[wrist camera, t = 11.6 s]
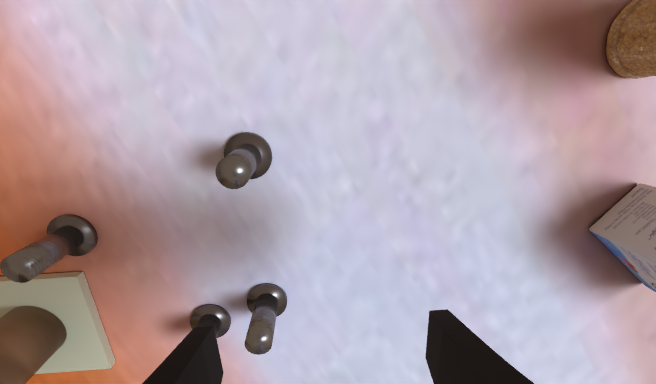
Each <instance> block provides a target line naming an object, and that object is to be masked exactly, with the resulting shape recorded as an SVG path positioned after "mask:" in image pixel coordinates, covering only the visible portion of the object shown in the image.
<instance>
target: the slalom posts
mask: <svg viewBox="0 0 656 384" xmlns="http://www.w3.org/2000/svg"><path fill="white" fill-rule="evenodd" d="M271 162H272V152H271V148H270V146H269V144H268V143H267V142H266V141H265V140H264V139H263V138H262V137H261V136H259V135H257V134H254V133H249V132H245V133H240V134H237V135H236V136H234V137H232V138H231V139H230V140H229V141H228V143H227V144H226V147H225V150H224V158H223V159H222V160H221V161H220V162H219V163H218V165H217V167H216V177H217V179H218V181H219V182H220V183H221V184H222V185H223V186H225V187H227V188H230V189H238V188H241V187H243V186H244V185H245V184H246V183H247V182H248V180H249V179H255V178H258V177H260V176H262V175H263V174H265V173H266V172H267V170H268V169H269V167H270V165H271ZM96 243H97V233H96V231H95V229H94V227H93V226H92V225H91V224H90V223H89V222H88V221H87V220H85V219H83V218H81V217H79V216H76V215H62V216H59V217H57V218H55V219H54V220H52V221H51V222H50V223H49V225H48V227H47V235H46V236H44V237H42V238H40V239H39V240H37V241H35V242H33V243H31V244H30V245H28V246H26V247H24V248H22V249H21V250H19V251H17V252H15V253H13V254H12V255H10V256H8V257H6V258H5V259H3V260H2V262H1V264H0V268H1V271H2V273H3V274H4V275H5V276H6V277H7V278H8V279H10V280H12V281H14V282H18V283H26V282H29V281H30V280H32V279H33V278H35V277H36V276H38V275H39V274H41V273H42V272H43V271H45V270H46V269H48V268H49V267H51V266H52V265H54V264H55V263H57V262H58V261H59V260H61V259H62V258H64V257H65V256H67V255H71V256H81V255H84V254H87V253H88V252H90V251H91V250H92V249H93V248H94V247H95V246H96ZM247 305H248V308H249V310H250V311H251V312H252V317H251V321H250V325H249V329H248V332H247V336H246V340H245V347H246V349H247V350H248V351H249V352H251V353H253V354H264V353H266V352H268V351H269V350H270V349H271V346H272V341H273V334H274V328H275V321H276V317H277V316H279V315H280V314H282V313H283V312H284V310H285V308H286V305H287V296H286V294H285V292H284V291H283V290H282V289H281V288H280V287H279V286H277V285H274V284H268V283H265V284H260V285H258V286H256V287H254V288H253V289H252V290H251V291H250V293H249V295H248V299H247ZM190 324H191V327H192V329H194V328H195V327H204V326H214V330H215V335H216V338H218V337H221V336H223V335H224V334H225V333H226V332H227V331H228V330H229V327H230V324H231V318H230V315H229V313H228V312H227V311H226V310H225V309H224V308H222V307H220V306H217V305H212V304H208V305H203V306H200V307H198V308H197V309H196V310H195V311H194V313H193V314H192V316H191V320H190Z"/></svg>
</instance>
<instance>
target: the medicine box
mask: <svg viewBox="0 0 656 384" xmlns="http://www.w3.org/2000/svg"><path fill="white" fill-rule="evenodd" d="M589 230H590V231H591V232H592V233H593V234H594V235H595V236H596V237H597V238H598V239H599V240H600V241H601V242H602V243H603V244H604V245H605V246H606V247H607V248H608V249H609V250H610V251H611V252H612V253H613V254H614V255H615V256H616V257H617V258H618V259H619V260H620V261H621V262H622V263H623V264H624V265H625V266H626V267H627V268H628V269H629V270H630V271H631V272H632V273H633V274H634V275H635V276H636V277H637V278H638V279H639V280H640V281H641V282H642V283H643V284H644V285H645V286H647V287H648V288H650V289H652V290H653V291H655V292H656V187H652V186H649V185H645V184H638V185H637V186H636V187H635V188H634V189H632V190H631V191H630V192H629V193H628V194H626V195H625V196H624V197H623V198H622V199H621V200H620V201H619V202H618V203H616V204H615V205H614V206H613V207H612V208H611V209H610V210H609V211H608V212H606V213H605V214H604V215H603V216H602V217H601V218H600V219H599V220H598V221H597V222H596V223H595V224H593V225H592V226H591V227H590V228H589Z"/></svg>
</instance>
